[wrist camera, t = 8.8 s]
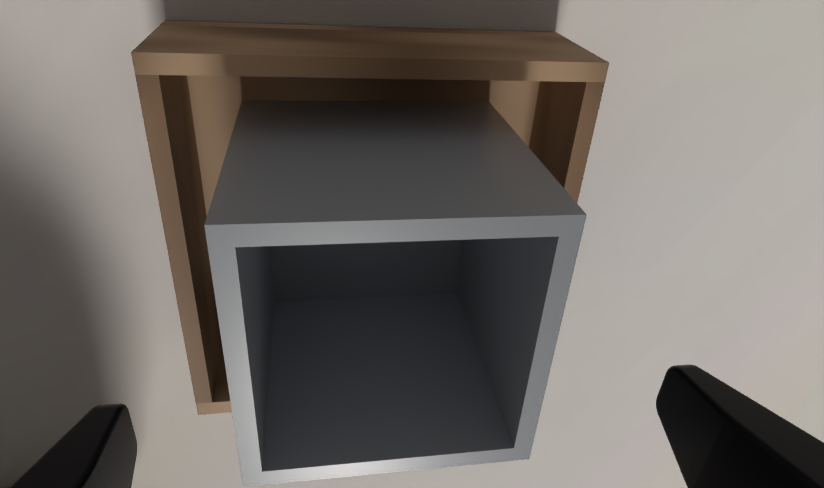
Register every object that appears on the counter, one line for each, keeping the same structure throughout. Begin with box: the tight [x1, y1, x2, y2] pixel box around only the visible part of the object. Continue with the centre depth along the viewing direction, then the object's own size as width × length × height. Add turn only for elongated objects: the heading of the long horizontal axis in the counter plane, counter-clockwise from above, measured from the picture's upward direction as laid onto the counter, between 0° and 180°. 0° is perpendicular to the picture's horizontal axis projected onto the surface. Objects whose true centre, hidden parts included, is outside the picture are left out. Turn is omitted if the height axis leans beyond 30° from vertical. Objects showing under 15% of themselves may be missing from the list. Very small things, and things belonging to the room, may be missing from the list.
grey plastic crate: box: [204, 100, 586, 487], centre depth 13 cm, size 6×6×6 cm
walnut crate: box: [131, 20, 609, 415], centre depth 15 cm, size 9×9×3 cm
